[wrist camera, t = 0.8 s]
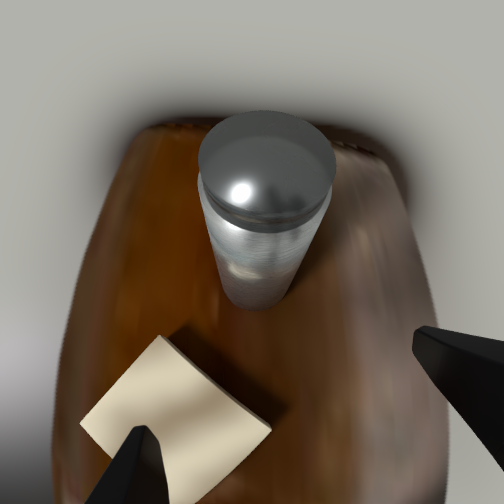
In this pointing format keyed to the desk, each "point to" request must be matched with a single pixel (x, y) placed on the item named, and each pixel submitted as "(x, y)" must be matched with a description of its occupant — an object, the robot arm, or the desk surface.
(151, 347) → the cream square slab
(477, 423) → the robot arm
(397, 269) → the desk surface
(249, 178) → the steel bottle
